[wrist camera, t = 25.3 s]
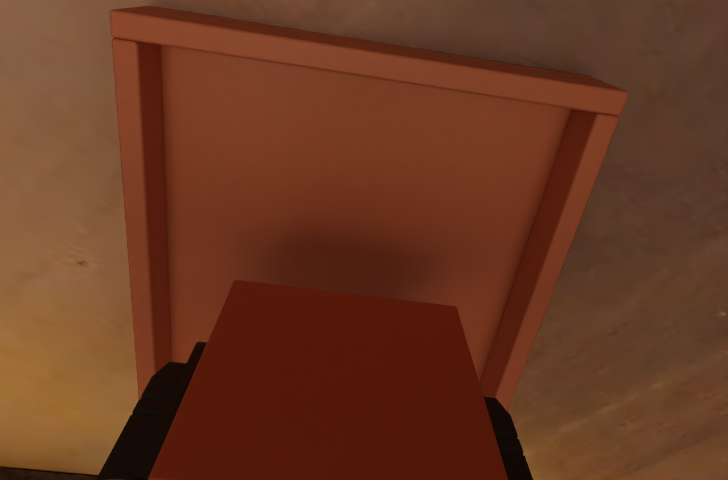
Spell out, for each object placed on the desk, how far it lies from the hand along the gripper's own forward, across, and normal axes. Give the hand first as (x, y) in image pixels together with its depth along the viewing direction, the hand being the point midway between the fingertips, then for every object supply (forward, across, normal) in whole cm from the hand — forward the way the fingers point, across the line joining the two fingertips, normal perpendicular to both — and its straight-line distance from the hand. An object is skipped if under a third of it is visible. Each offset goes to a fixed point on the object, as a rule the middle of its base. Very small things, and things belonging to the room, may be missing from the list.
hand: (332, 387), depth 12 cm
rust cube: (0, 0, 0) cm, 0 cm away
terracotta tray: (+6, 0, 0) cm, 6 cm away
